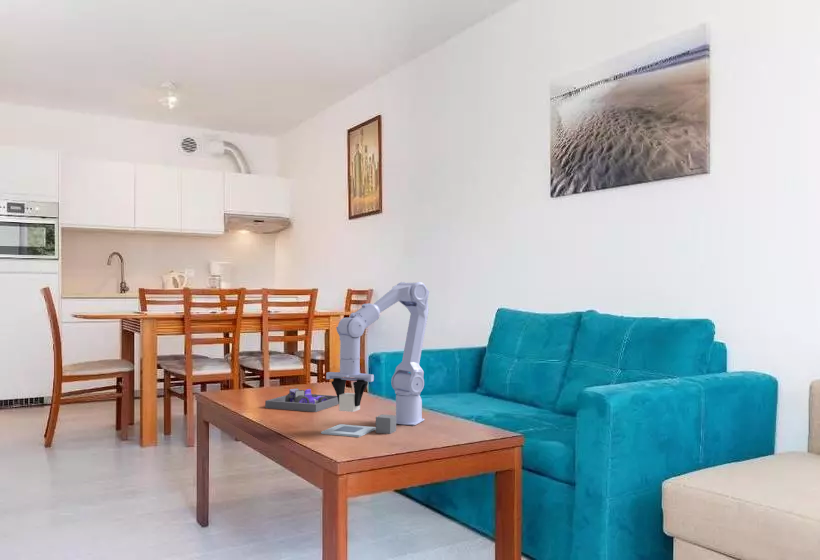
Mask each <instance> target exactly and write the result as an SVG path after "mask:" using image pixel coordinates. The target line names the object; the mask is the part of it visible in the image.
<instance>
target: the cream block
mask: <svg viewBox="0 0 820 560" xmlns="http://www.w3.org/2000/svg"><path fill="white" fill-rule="evenodd" d="M359 410H361V404H360V405H359V406H355V392H344V394H341V395H339V404H338V411H339V412H349V413H350V412H351V413H354V412H357V411H359Z"/></svg>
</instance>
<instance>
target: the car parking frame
mask: <svg viewBox="0 0 820 560" xmlns="http://www.w3.org/2000/svg"><path fill="white" fill-rule="evenodd" d="M313 394H314V393H312V395H313ZM318 395H319V396H325V397H327V398H328V400H326V401H323V402H320V403H316V404H308V403H295V402H285V398H286V396H287V394H286V395H282V396H278V397H274V398H270V399H267V400H265V405H264V408H265V409H275V410H286V411H287V410H289V411H298V412H311V413H317V412H320V411H323V410H326V409H328V408H332V407H334V406H337V405H338V406H339V402H338V398H337V395H330V394H329V395H327V394H318Z"/></svg>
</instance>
